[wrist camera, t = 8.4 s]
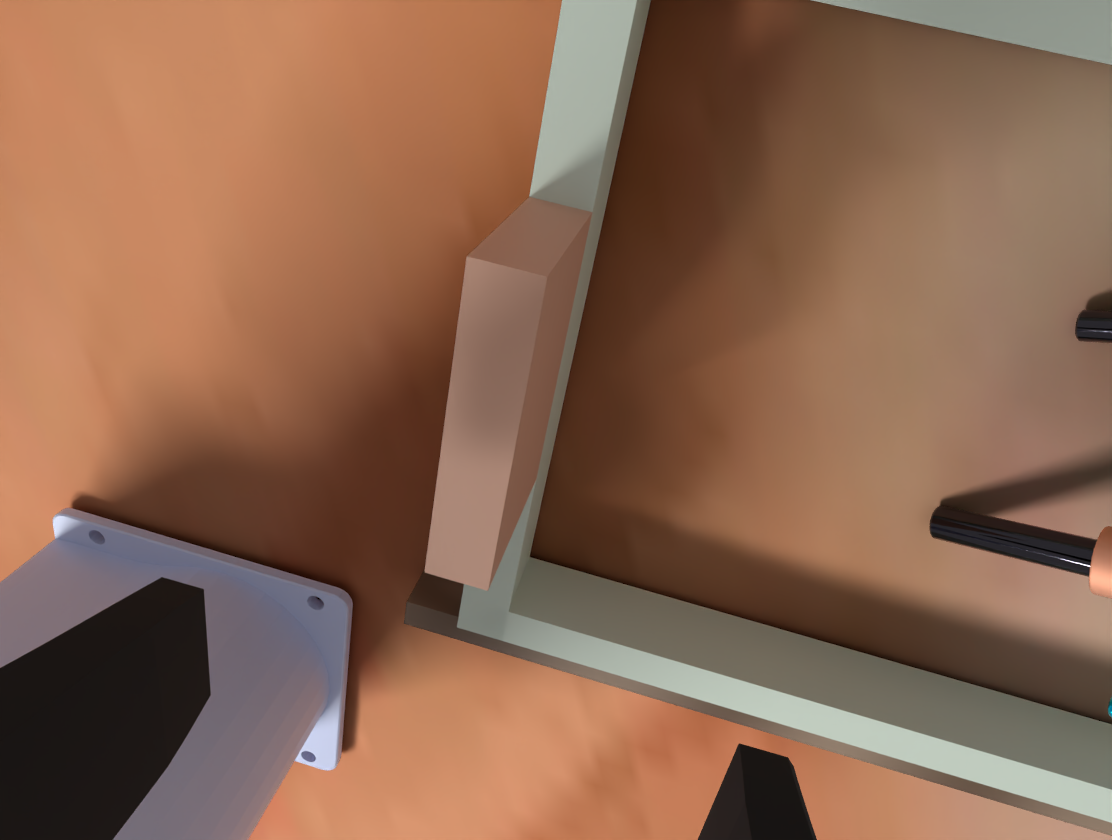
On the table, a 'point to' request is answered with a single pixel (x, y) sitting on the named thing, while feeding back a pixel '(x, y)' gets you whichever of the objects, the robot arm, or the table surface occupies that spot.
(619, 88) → the open rectangular frame
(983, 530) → the stick construction toy
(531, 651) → the guide rails
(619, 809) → the table surface
